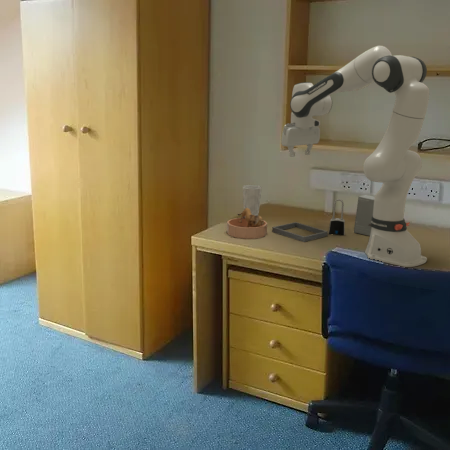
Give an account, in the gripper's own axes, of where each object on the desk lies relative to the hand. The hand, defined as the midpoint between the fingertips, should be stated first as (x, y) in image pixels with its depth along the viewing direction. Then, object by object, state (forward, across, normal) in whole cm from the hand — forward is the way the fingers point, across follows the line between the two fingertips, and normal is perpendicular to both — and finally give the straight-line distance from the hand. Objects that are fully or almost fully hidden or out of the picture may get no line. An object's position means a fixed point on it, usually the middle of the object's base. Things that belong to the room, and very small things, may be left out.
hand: (300, 155), depth 245 cm
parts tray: (+31, -7, -8) cm, 33 cm away
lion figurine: (+29, -22, +8) cm, 37 cm away
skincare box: (+32, +17, -24) cm, 43 cm away
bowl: (+31, -24, +6) cm, 40 cm away
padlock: (+32, +6, -17) cm, 36 cm away
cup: (+31, -9, +20) cm, 38 cm away
